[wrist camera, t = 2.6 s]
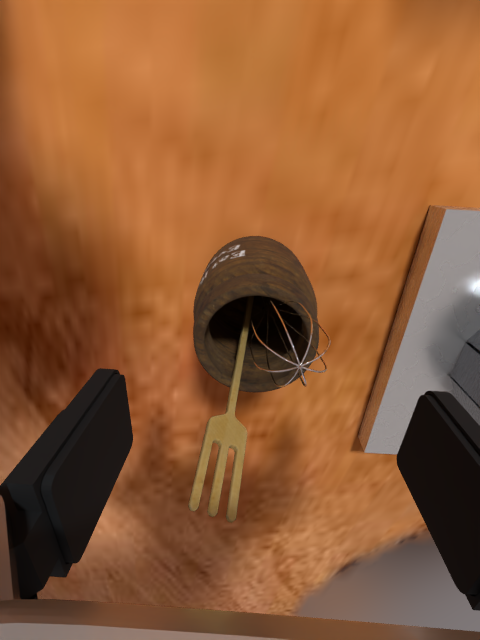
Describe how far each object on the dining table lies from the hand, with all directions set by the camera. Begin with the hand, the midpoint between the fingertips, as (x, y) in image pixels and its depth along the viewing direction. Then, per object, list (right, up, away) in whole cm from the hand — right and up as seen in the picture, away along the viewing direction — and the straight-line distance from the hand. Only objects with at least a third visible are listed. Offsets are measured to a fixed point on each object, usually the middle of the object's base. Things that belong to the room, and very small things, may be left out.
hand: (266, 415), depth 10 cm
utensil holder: (0, +5, +9) cm, 10 cm away
